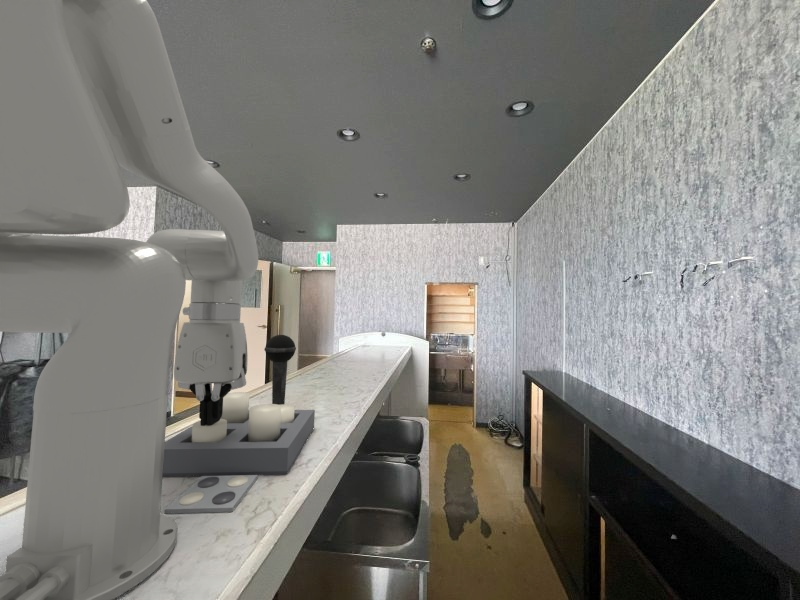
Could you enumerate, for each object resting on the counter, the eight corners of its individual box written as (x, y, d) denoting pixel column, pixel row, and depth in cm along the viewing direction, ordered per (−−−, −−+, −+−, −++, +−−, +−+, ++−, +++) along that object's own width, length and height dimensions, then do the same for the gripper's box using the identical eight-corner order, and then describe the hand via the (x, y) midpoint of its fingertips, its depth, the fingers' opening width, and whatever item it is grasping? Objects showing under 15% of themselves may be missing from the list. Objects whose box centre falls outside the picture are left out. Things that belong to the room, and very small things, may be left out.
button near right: (274, 443, 50) (275, 412, 51) (242, 443, 50) (244, 412, 50) (283, 432, 55) (284, 403, 56) (255, 432, 55) (256, 403, 55)
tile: (232, 511, 38) (232, 505, 38) (164, 513, 38) (164, 507, 38) (257, 478, 46) (257, 473, 46) (201, 479, 46) (202, 474, 46)
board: (287, 474, 47) (288, 447, 48) (149, 477, 46) (151, 449, 46) (314, 428, 67) (314, 409, 68) (218, 429, 66) (219, 410, 66)
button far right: (289, 438, 59) (290, 411, 60) (262, 438, 59) (263, 411, 59) (296, 428, 64) (297, 404, 64) (271, 429, 64) (272, 404, 64)
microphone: (271, 430, 66) (275, 335, 67) (255, 423, 70) (259, 334, 71) (299, 422, 71) (302, 334, 73) (282, 416, 75) (285, 333, 77)
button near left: (216, 460, 50) (217, 428, 50) (183, 460, 49) (185, 428, 50) (231, 447, 55) (232, 418, 55) (201, 447, 54) (203, 418, 55)
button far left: (241, 425, 59) (242, 398, 59) (214, 425, 58) (215, 398, 59) (252, 416, 64) (253, 392, 64) (227, 416, 63) (228, 392, 64)
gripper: (154, 313, 49) (147, 431, 48) (251, 315, 50) (246, 430, 49) (184, 314, 57) (178, 416, 56) (268, 315, 58) (264, 415, 57)
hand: (210, 422), depth 52 cm, fingers closed
